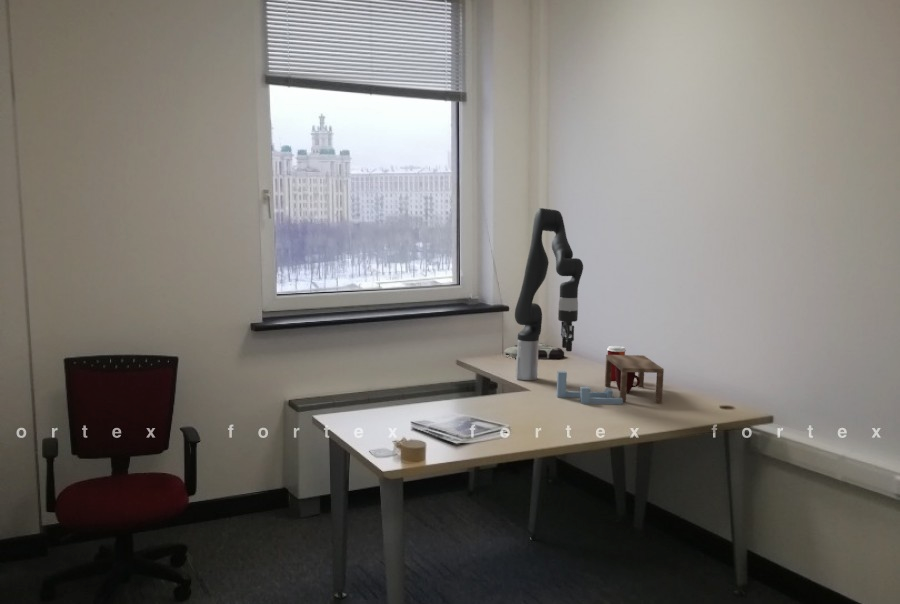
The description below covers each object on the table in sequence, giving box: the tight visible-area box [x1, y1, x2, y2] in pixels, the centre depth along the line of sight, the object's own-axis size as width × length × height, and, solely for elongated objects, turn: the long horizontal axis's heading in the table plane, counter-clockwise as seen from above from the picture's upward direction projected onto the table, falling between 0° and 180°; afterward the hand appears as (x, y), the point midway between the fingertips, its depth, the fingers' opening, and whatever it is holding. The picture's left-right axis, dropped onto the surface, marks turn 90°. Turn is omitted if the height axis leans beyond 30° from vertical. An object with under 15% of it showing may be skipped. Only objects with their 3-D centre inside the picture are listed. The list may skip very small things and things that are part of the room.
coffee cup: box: [606, 345, 627, 382], centre depth 345 cm, size 8×8×15 cm
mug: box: [615, 367, 640, 394], centre depth 322 cm, size 10×8×10 cm
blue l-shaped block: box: [579, 386, 624, 405], centre depth 302 cm, size 16×3×6 cm, turn 91°
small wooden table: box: [604, 354, 665, 404], centre depth 318 cm, size 16×30×14 cm, turn 1°
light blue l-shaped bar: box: [556, 370, 614, 398], centre depth 311 cm, size 22×5×10 cm, turn 91°
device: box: [503, 342, 565, 360], centre depth 405 cm, size 33×27×5 cm
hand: (566, 349), depth 311 cm, fingers open, 8 cm apart
